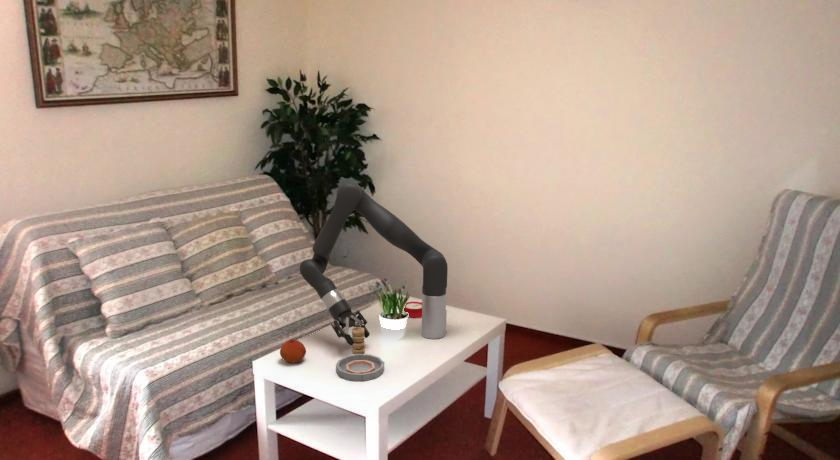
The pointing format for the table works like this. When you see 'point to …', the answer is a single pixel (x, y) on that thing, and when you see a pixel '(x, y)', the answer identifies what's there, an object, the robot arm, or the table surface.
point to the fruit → (292, 351)
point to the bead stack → (358, 340)
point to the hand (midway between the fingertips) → (360, 340)
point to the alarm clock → (414, 309)
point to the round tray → (360, 367)
